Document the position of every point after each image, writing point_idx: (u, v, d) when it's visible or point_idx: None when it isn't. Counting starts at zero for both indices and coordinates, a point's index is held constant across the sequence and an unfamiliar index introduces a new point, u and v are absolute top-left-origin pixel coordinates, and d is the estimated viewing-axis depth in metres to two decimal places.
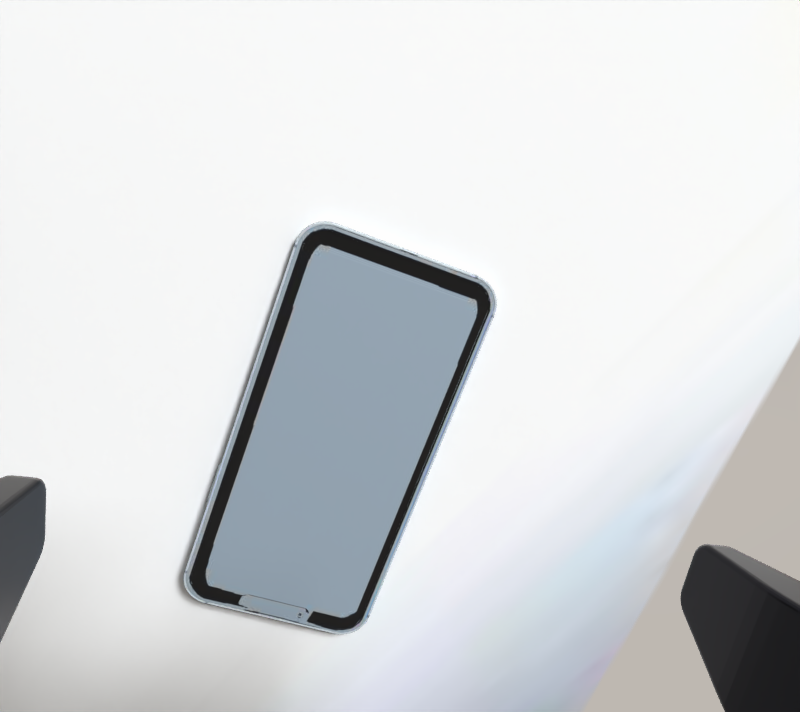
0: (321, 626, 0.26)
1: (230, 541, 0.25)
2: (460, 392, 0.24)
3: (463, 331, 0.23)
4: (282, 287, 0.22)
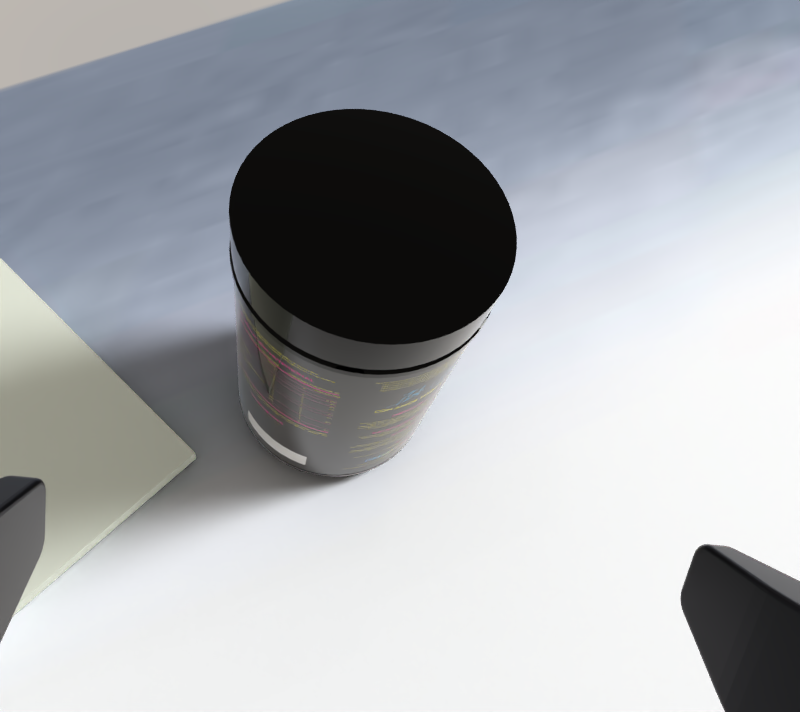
0: None
1: None
2: None
3: None
4: None
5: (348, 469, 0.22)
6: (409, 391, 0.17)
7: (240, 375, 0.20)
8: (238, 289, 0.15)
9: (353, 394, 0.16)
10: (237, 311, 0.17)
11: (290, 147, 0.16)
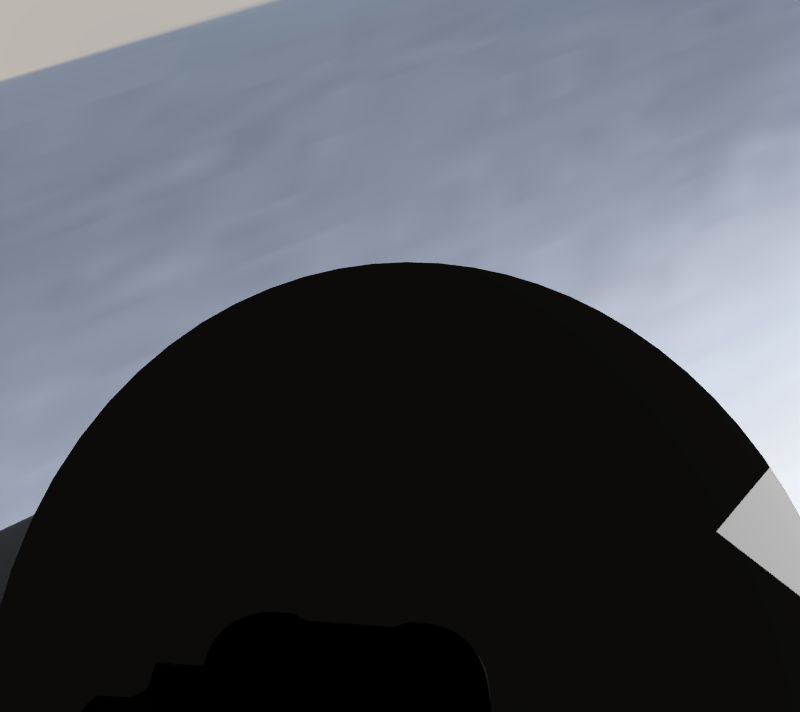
0: None
1: None
2: None
3: None
4: None
5: None
6: None
7: None
8: None
9: None
10: None
11: (213, 397, 0.06)
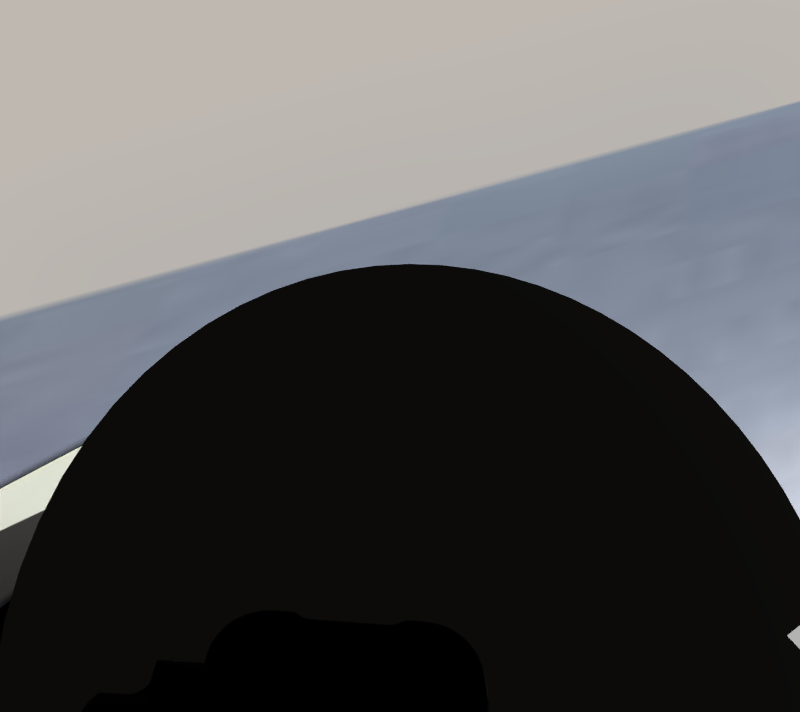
0: None
1: None
2: None
3: None
4: None
5: None
6: None
7: None
8: None
9: None
10: None
11: (218, 398, 0.06)
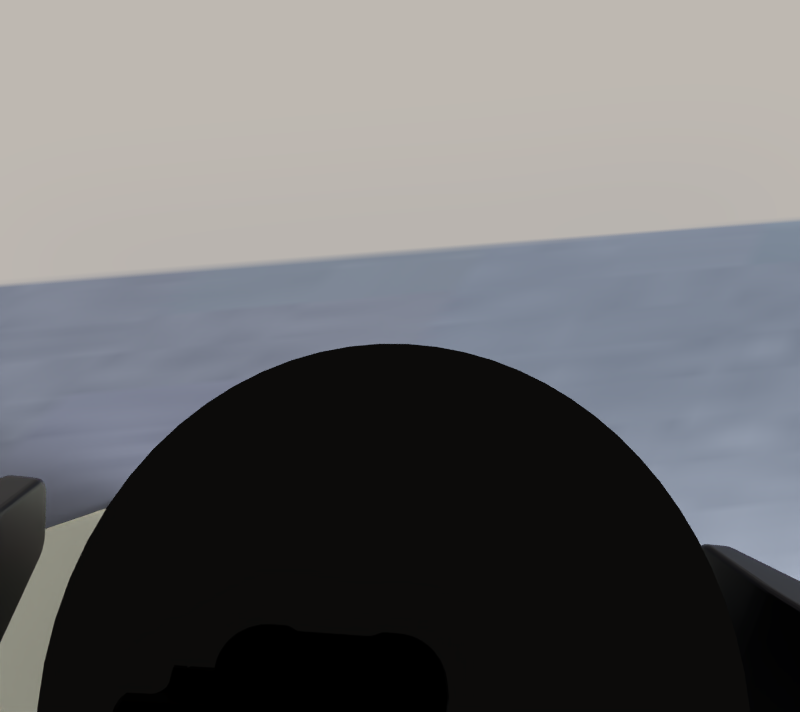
0: None
1: None
2: None
3: None
4: None
5: None
6: None
7: None
8: None
9: None
10: None
11: (215, 469, 0.07)
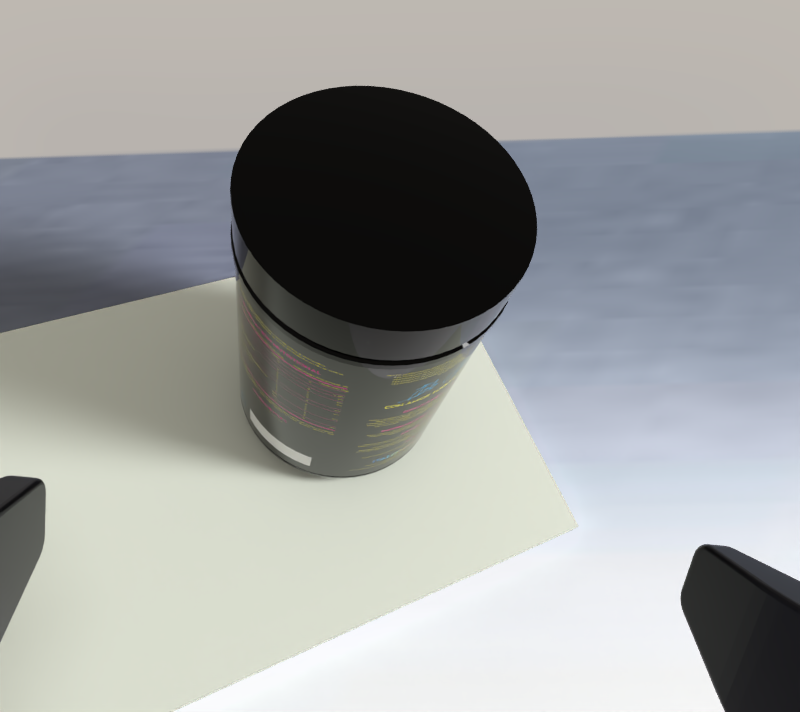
0: None
1: None
2: None
3: None
4: None
5: (355, 470, 0.21)
6: (422, 385, 0.16)
7: (241, 371, 0.19)
8: (240, 275, 0.14)
9: (362, 387, 0.15)
10: (239, 300, 0.16)
11: (295, 124, 0.15)
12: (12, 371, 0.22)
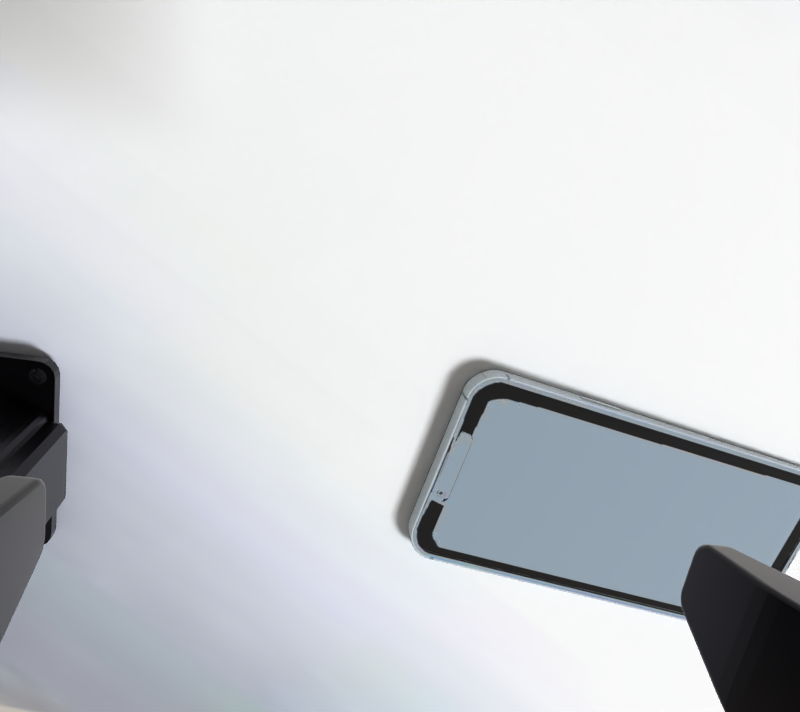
0: (424, 515, 0.23)
1: (539, 423, 0.23)
2: (662, 613, 0.26)
3: None
4: (783, 466, 0.24)
5: None
6: None
7: None
8: None
9: None
10: None
11: None
12: None
